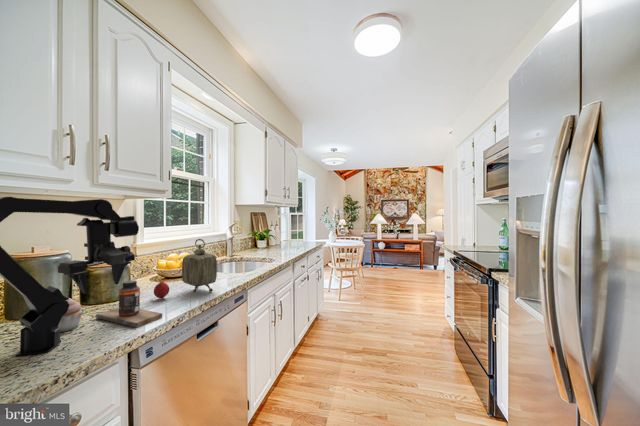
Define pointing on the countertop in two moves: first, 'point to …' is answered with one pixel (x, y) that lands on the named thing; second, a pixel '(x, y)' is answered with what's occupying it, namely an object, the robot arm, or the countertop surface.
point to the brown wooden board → (130, 317)
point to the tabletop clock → (199, 268)
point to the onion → (161, 290)
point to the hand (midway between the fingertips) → (101, 288)
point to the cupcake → (71, 316)
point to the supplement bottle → (129, 298)
